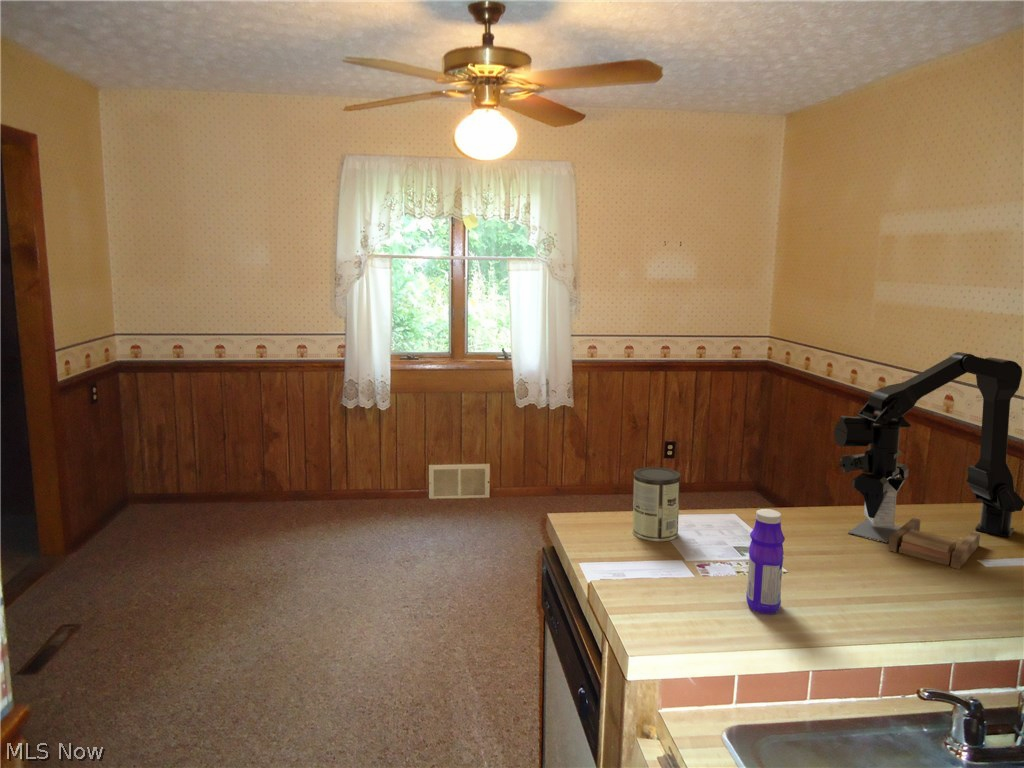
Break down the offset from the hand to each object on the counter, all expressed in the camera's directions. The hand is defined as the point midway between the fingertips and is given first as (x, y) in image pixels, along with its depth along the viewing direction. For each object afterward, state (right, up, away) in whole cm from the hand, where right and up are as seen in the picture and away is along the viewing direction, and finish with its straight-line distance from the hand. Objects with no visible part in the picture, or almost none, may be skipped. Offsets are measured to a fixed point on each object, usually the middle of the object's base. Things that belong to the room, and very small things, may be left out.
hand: (878, 512), depth 155 cm
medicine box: (0, -2, 0) cm, 2 cm away
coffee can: (-51, -5, -1) cm, 51 cm away
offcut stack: (+4, -7, -12) cm, 14 cm away
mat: (0, -4, +1) cm, 5 cm away
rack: (+7, -6, -9) cm, 13 cm away
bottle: (-39, -10, -35) cm, 53 cm away
